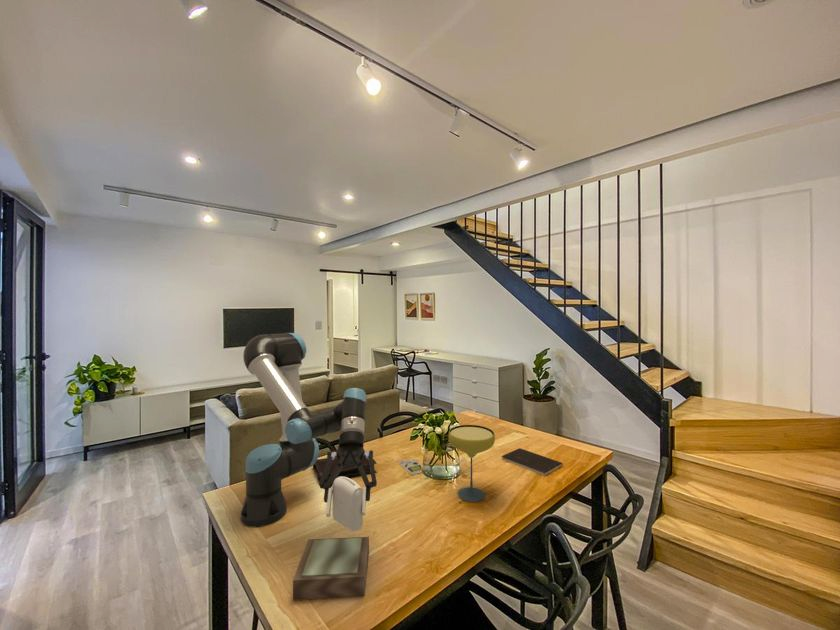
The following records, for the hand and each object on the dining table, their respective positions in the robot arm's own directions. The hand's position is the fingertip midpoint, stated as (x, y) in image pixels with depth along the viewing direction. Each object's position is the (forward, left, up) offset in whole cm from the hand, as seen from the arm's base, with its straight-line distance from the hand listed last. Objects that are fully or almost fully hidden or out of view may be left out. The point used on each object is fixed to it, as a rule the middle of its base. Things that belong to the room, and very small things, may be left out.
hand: (345, 514), depth 96 cm
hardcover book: (+78, +68, -19) cm, 106 cm away
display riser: (-4, +2, -18) cm, 19 cm away
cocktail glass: (+43, +41, -18) cm, 63 cm away
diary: (-10, +66, -19) cm, 69 cm away
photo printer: (0, +3, -4) cm, 5 cm away
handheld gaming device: (+21, +68, -19) cm, 74 cm away
